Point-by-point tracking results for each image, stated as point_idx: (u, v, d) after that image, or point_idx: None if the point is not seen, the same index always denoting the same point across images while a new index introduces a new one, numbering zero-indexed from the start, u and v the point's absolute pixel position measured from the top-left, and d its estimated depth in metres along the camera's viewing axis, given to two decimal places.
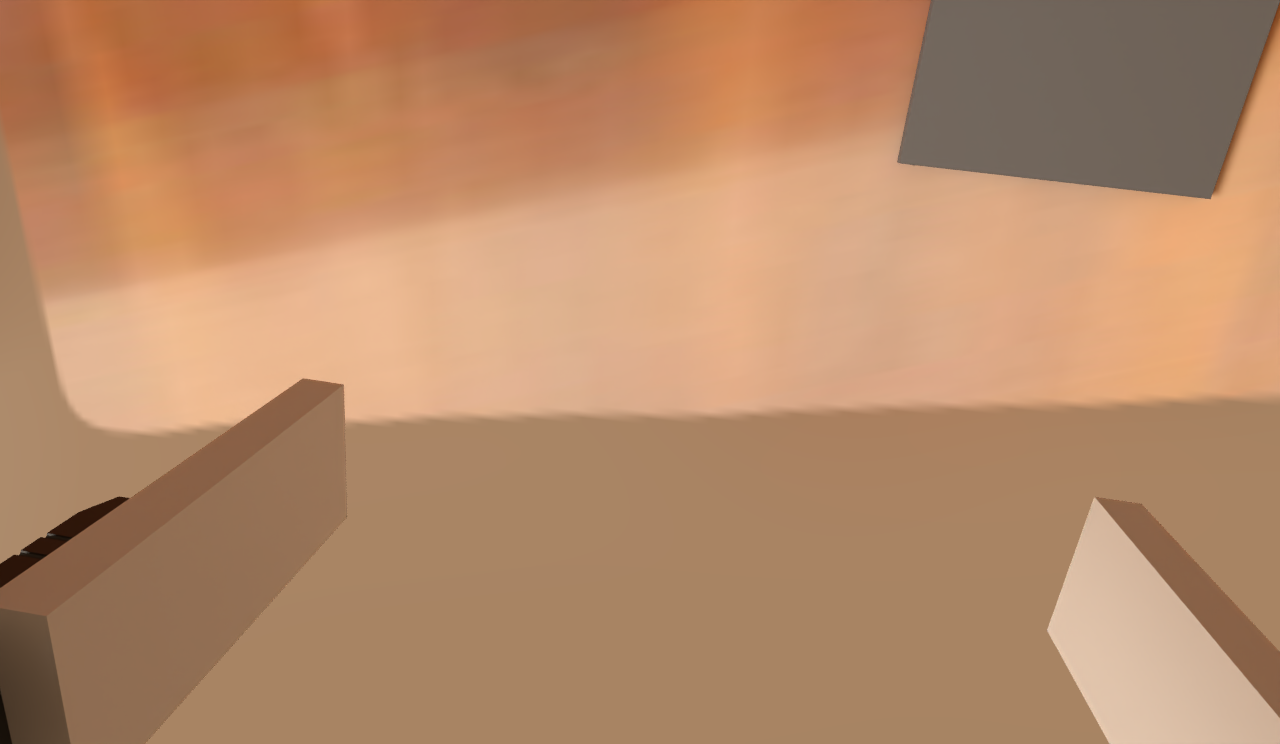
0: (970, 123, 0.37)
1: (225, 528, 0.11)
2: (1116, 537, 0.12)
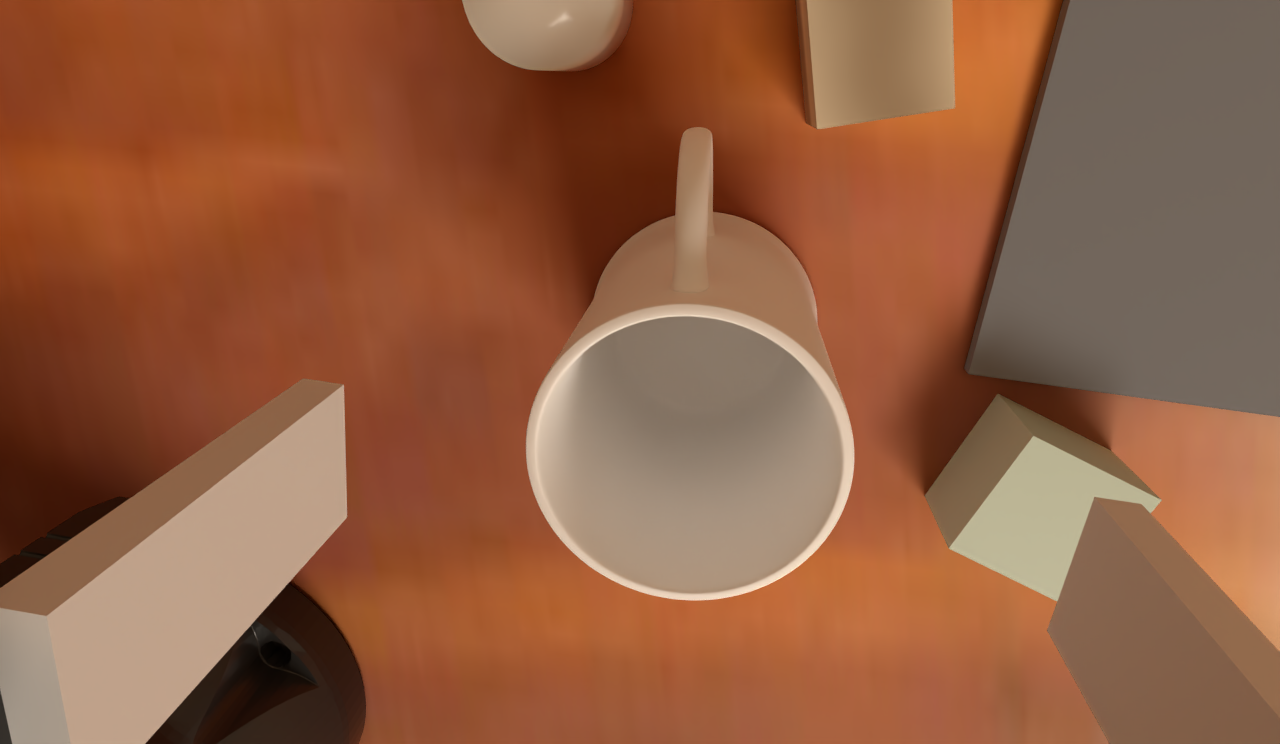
0: None
1: (225, 528, 0.11)
2: (1116, 536, 0.12)
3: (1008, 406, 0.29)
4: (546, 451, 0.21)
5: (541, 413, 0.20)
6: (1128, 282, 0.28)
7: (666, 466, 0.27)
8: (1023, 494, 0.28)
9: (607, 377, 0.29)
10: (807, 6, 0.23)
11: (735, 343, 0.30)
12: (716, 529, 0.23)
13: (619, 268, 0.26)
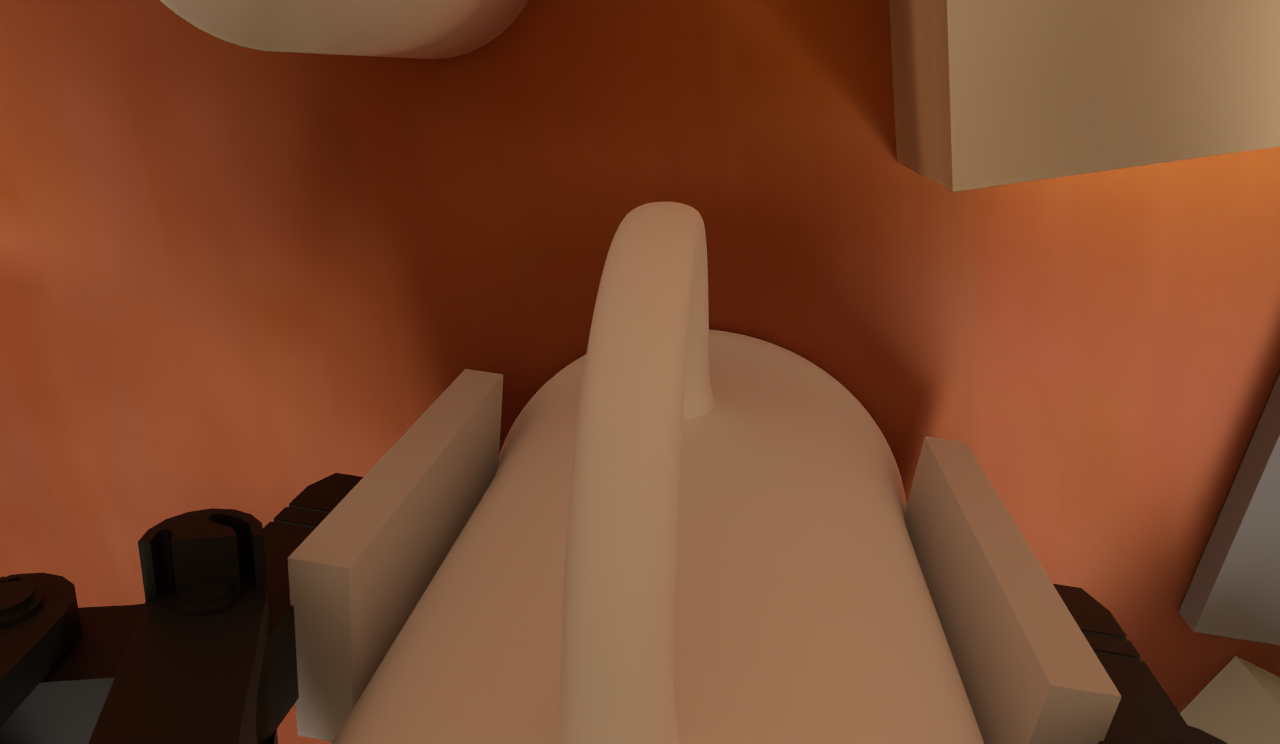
0: None
1: (436, 500, 0.12)
2: (933, 467, 0.14)
3: (1275, 701, 0.15)
4: None
5: None
6: None
7: None
8: None
9: None
10: None
11: None
12: None
13: (506, 483, 0.12)
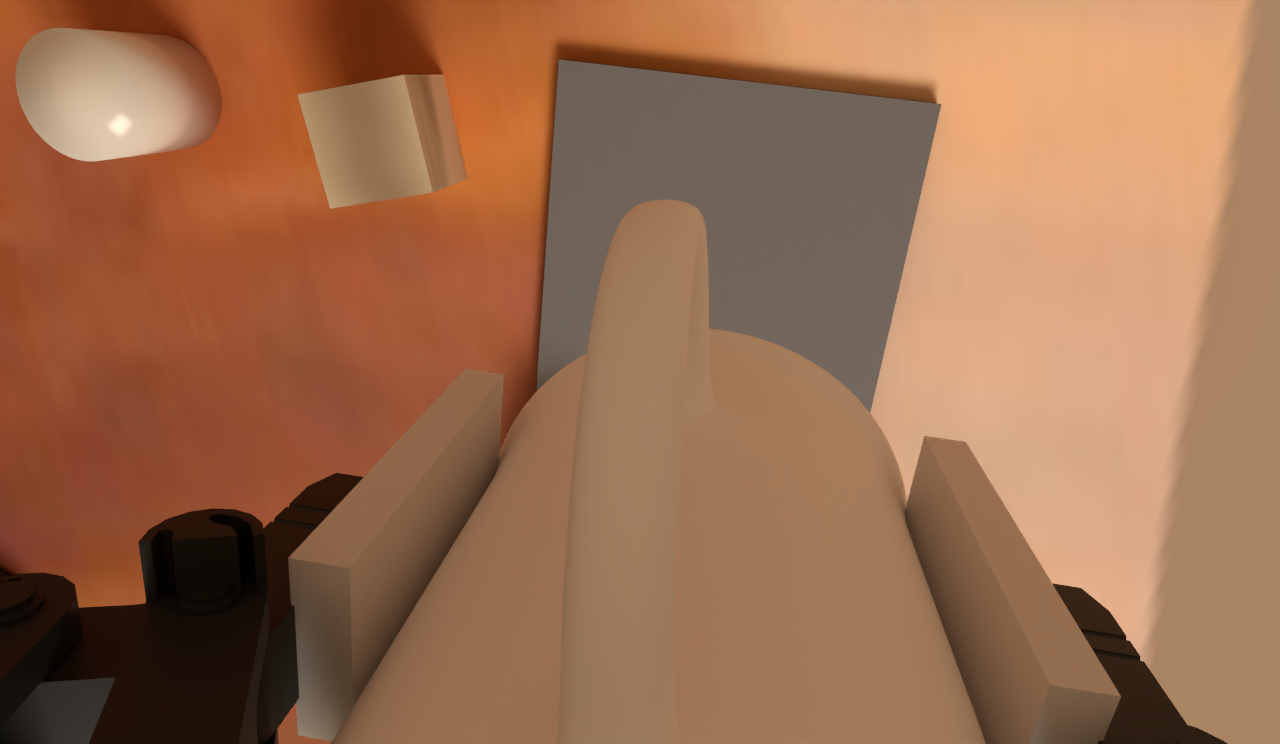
0: None
1: (437, 501, 0.12)
2: (933, 467, 0.14)
3: None
4: None
5: None
6: None
7: None
8: None
9: None
10: (304, 111, 0.28)
11: None
12: None
13: (506, 482, 0.12)
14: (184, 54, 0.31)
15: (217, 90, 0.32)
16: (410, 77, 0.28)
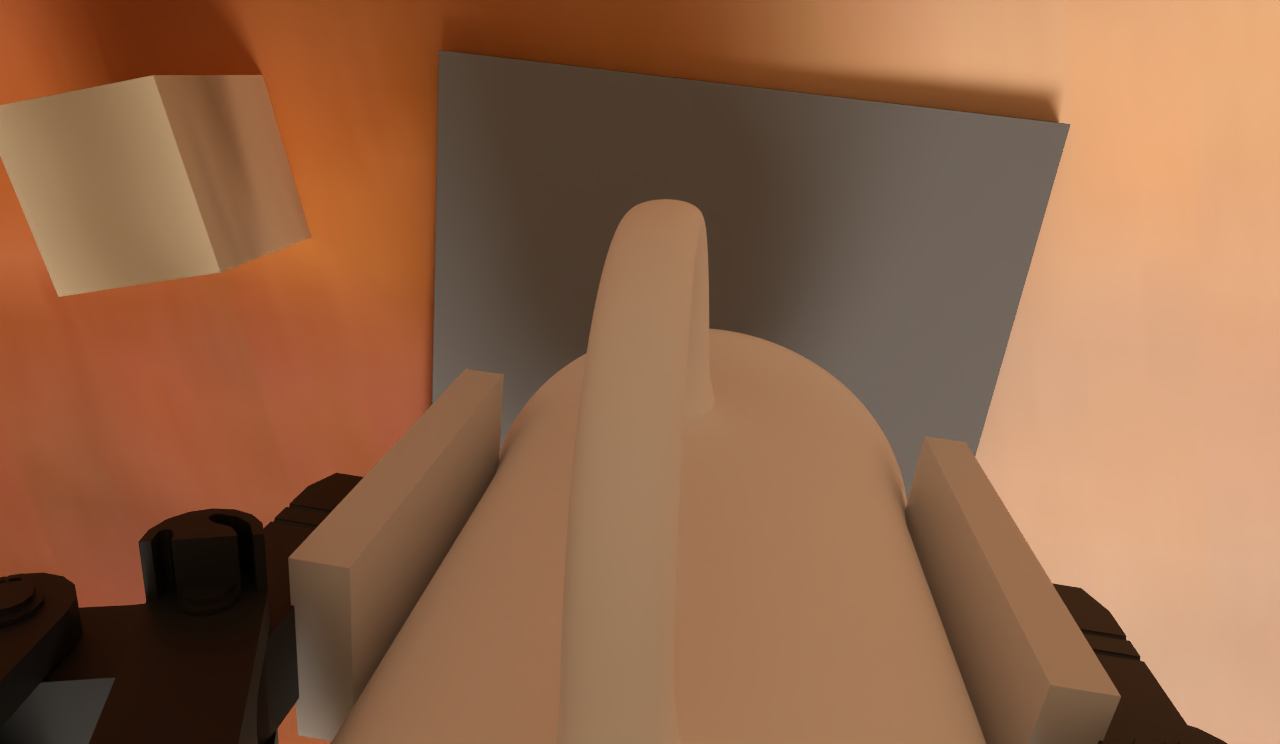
0: None
1: (437, 501, 0.12)
2: (933, 467, 0.14)
3: None
4: None
5: None
6: None
7: None
8: None
9: None
10: None
11: None
12: None
13: (506, 482, 0.12)
14: None
15: None
16: (172, 79, 0.16)
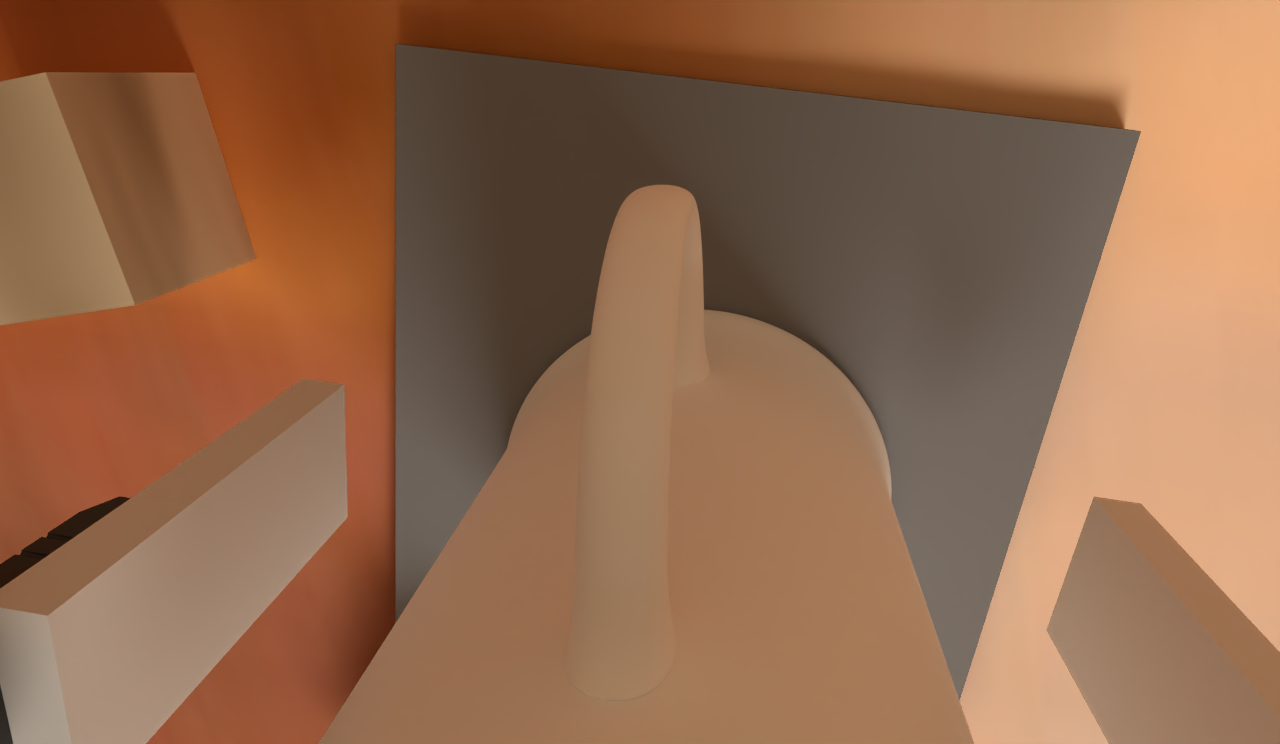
0: None
1: (226, 528, 0.11)
2: (1115, 536, 0.12)
3: None
4: None
5: None
6: None
7: None
8: None
9: None
10: None
11: None
12: None
13: (522, 444, 0.13)
14: None
15: None
16: (72, 77, 0.14)
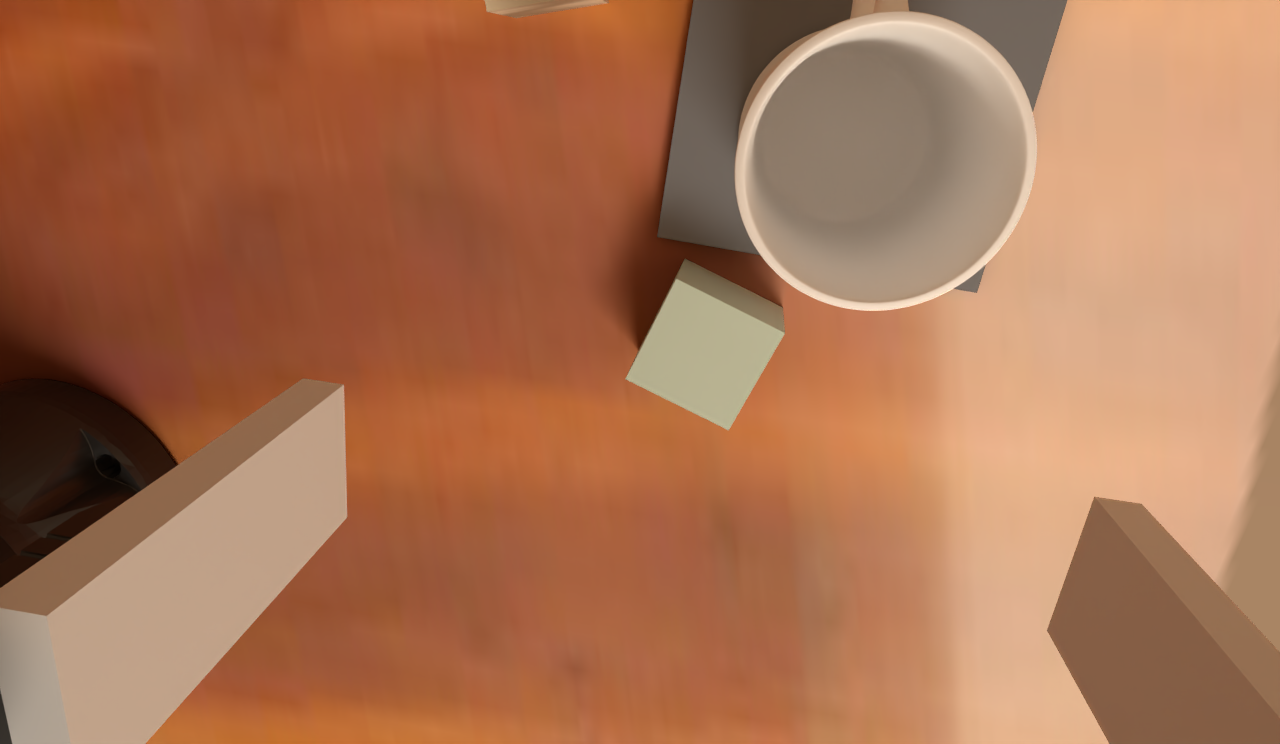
0: None
1: (225, 528, 0.11)
2: (1116, 537, 0.12)
3: (682, 264, 0.35)
4: (748, 169, 0.23)
5: (754, 121, 0.22)
6: None
7: (818, 245, 0.29)
8: (676, 330, 0.34)
9: (759, 173, 0.31)
10: None
11: (874, 154, 0.33)
12: (880, 273, 0.26)
13: None
14: None
15: None
16: None
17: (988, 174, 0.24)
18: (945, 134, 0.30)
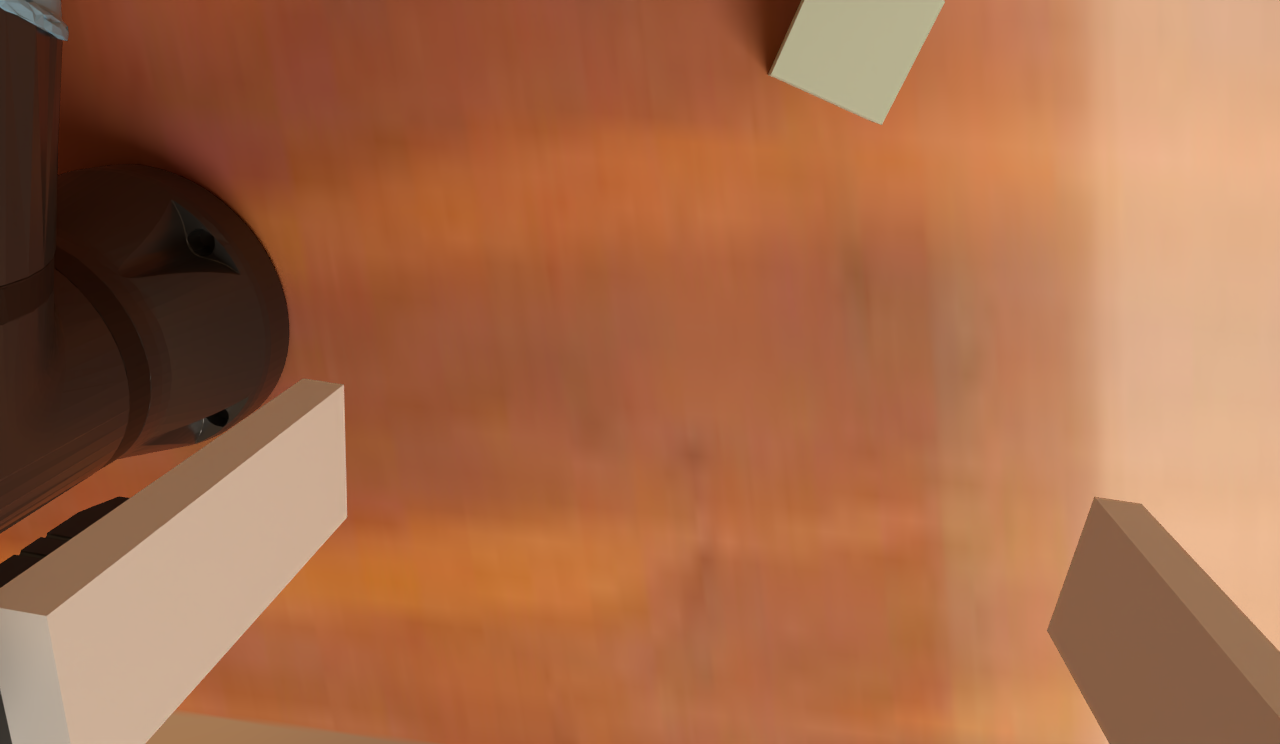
0: None
1: (225, 528, 0.11)
2: (1116, 536, 0.12)
3: None
4: None
5: None
6: None
7: None
8: (827, 10, 0.32)
9: None
10: None
11: None
12: None
13: None
14: None
15: None
16: None
17: None
18: None
